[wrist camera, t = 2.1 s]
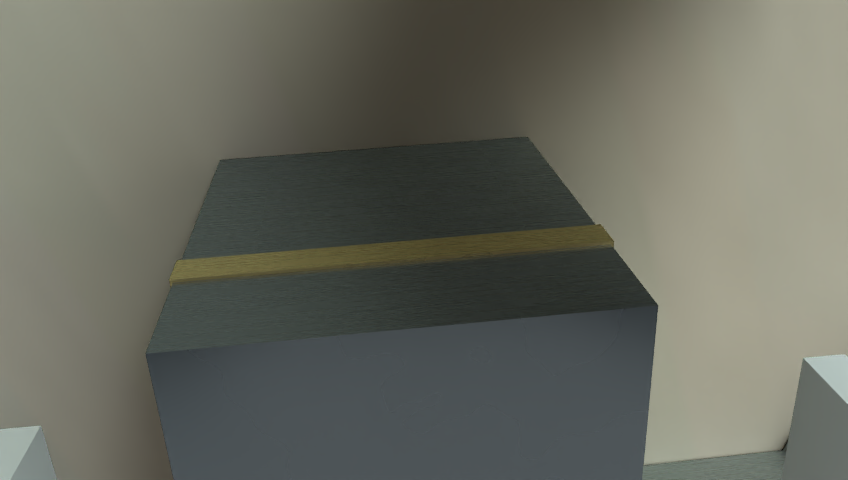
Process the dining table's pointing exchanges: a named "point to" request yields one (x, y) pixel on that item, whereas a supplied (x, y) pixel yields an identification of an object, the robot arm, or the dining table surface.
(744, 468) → the ratchet
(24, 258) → the dining table surface
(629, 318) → the gold-striped grey cube
